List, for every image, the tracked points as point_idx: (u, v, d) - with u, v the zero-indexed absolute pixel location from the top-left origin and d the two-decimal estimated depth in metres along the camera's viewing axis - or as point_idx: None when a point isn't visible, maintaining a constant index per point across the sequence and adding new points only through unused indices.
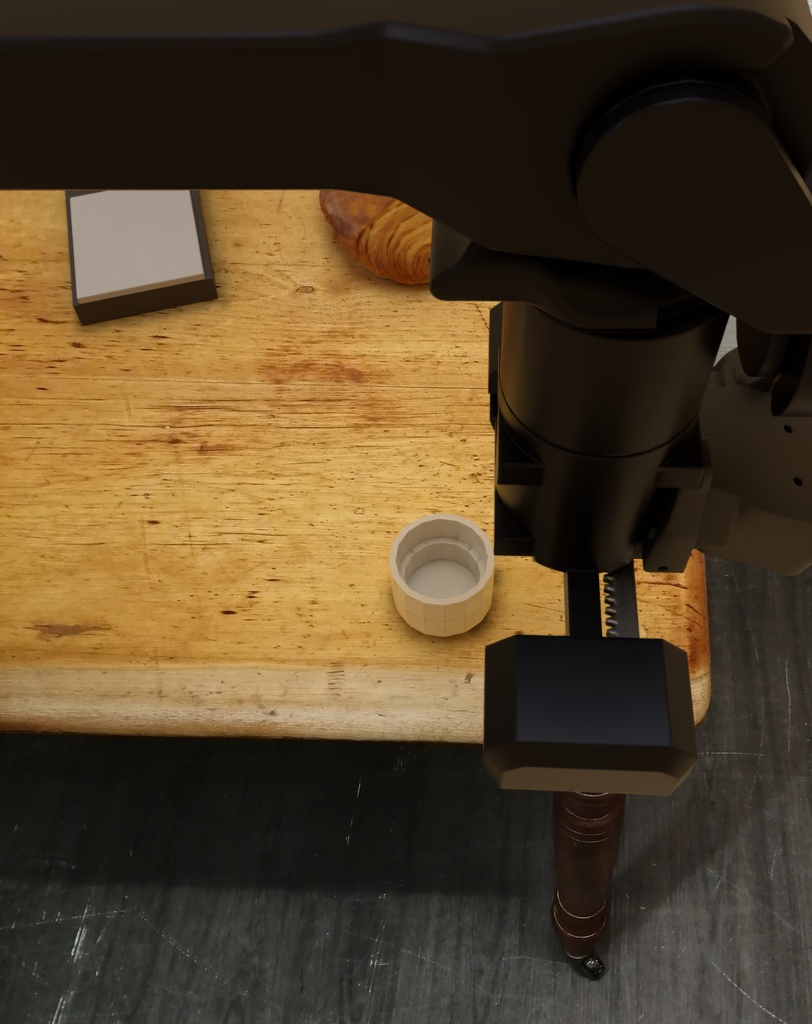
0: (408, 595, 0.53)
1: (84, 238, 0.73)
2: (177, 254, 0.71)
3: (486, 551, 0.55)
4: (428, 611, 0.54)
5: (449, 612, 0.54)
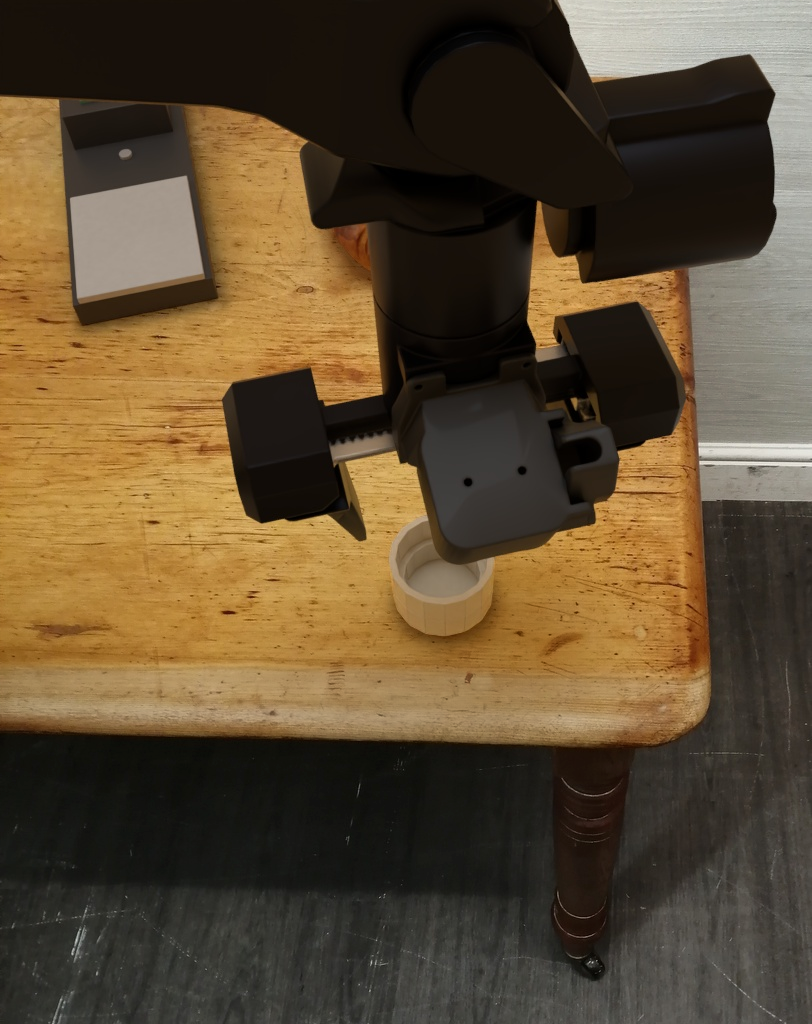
0: (408, 595, 0.53)
1: (84, 238, 0.73)
2: (177, 254, 0.71)
3: None
4: (428, 610, 0.54)
5: (449, 611, 0.54)
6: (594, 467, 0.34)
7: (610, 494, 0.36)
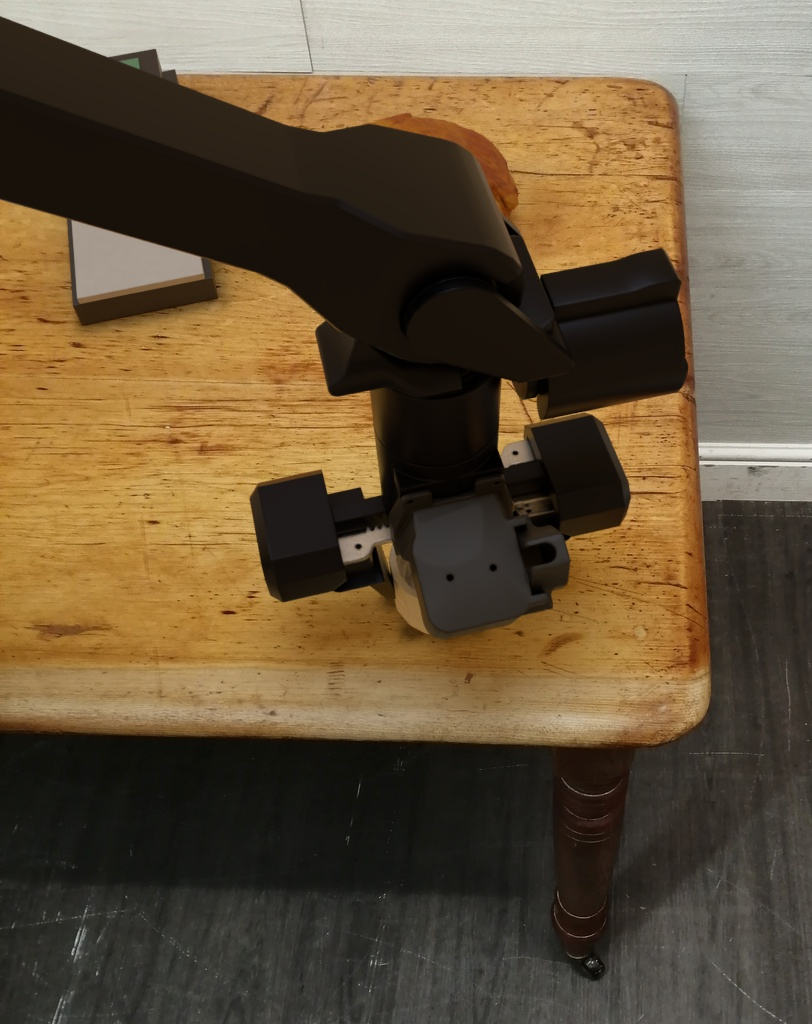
0: (408, 594, 0.53)
1: (84, 238, 0.73)
2: (177, 254, 0.71)
3: None
4: None
5: None
6: (550, 567, 0.43)
7: (564, 585, 0.45)
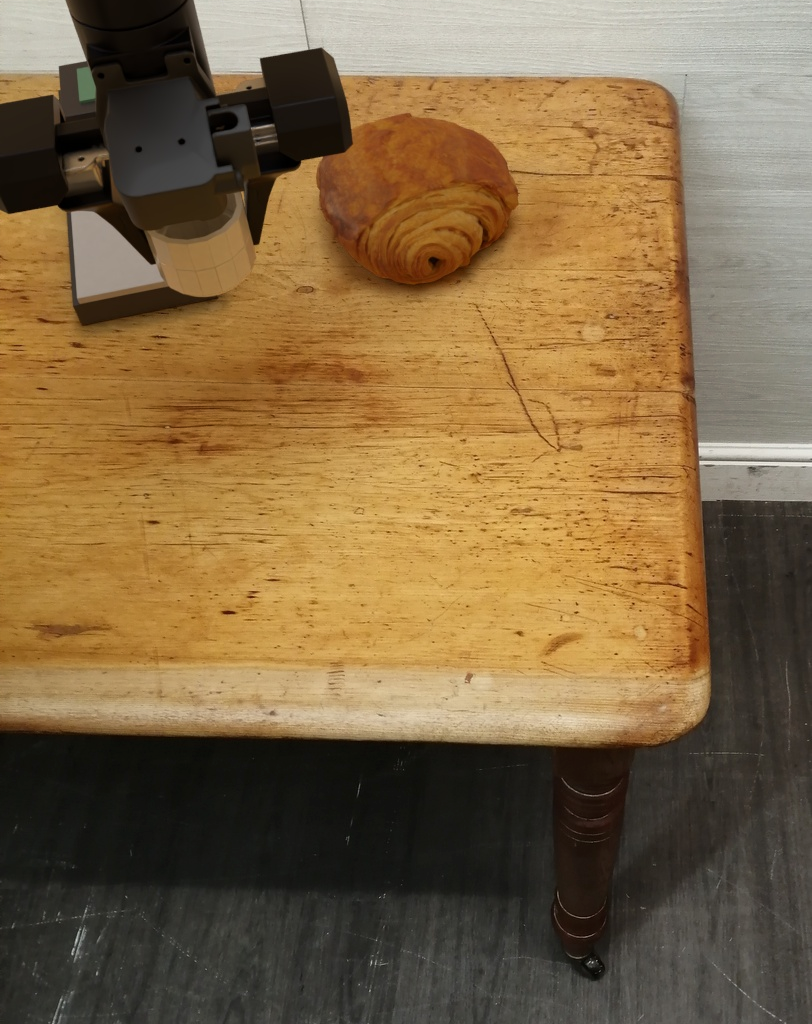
0: (154, 238, 0.55)
1: (84, 238, 0.73)
2: None
3: None
4: (175, 256, 0.55)
5: (194, 256, 0.55)
6: (230, 133, 0.45)
7: (254, 164, 0.46)
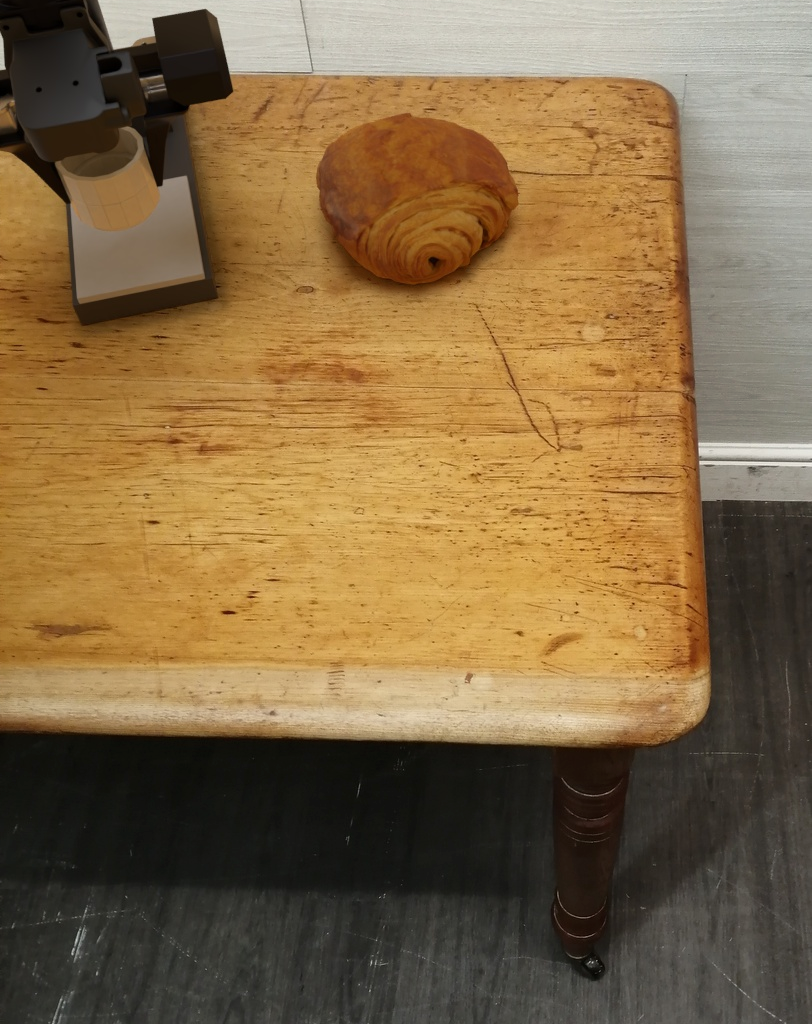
0: (65, 176, 0.63)
1: (84, 238, 0.73)
2: (177, 254, 0.71)
3: (138, 147, 0.64)
4: (84, 192, 0.63)
5: (101, 192, 0.63)
6: (115, 74, 0.53)
7: (138, 102, 0.54)
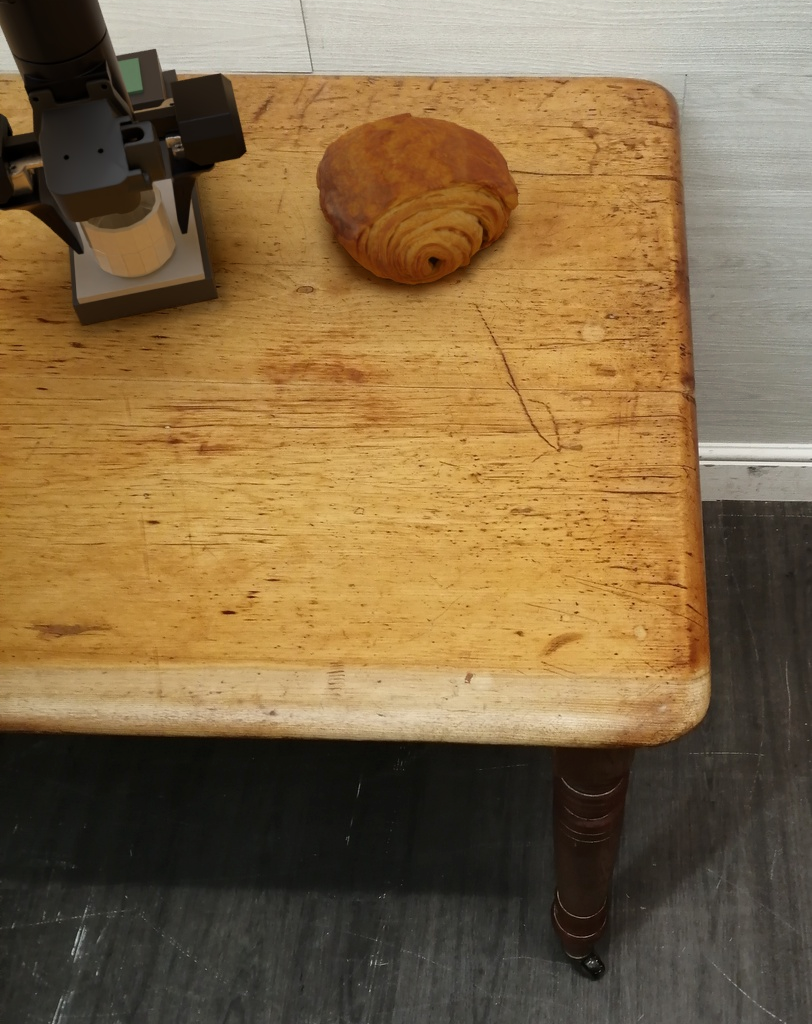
0: (86, 228, 0.67)
1: (84, 238, 0.73)
2: (177, 254, 0.71)
3: (155, 199, 0.68)
4: (104, 243, 0.67)
5: (120, 243, 0.67)
6: (138, 143, 0.57)
7: (159, 168, 0.58)
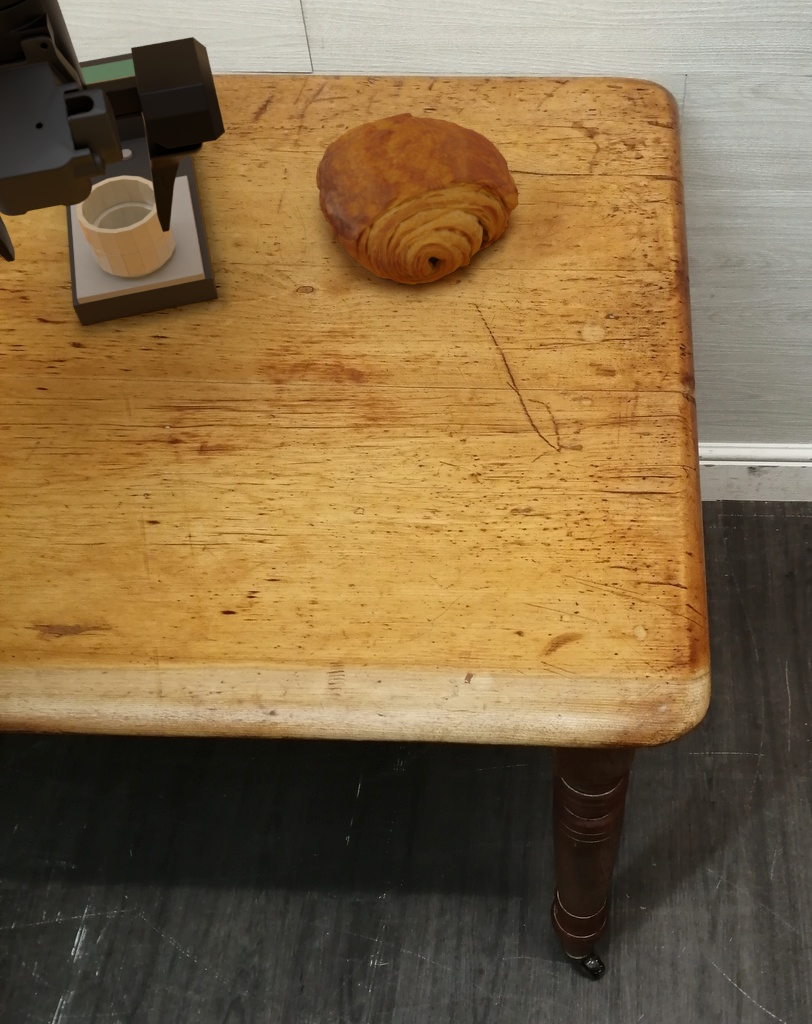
0: (86, 228, 0.67)
1: (84, 238, 0.73)
2: (177, 254, 0.71)
3: None
4: (104, 243, 0.67)
5: (120, 243, 0.67)
6: (85, 116, 0.45)
7: (113, 148, 0.46)
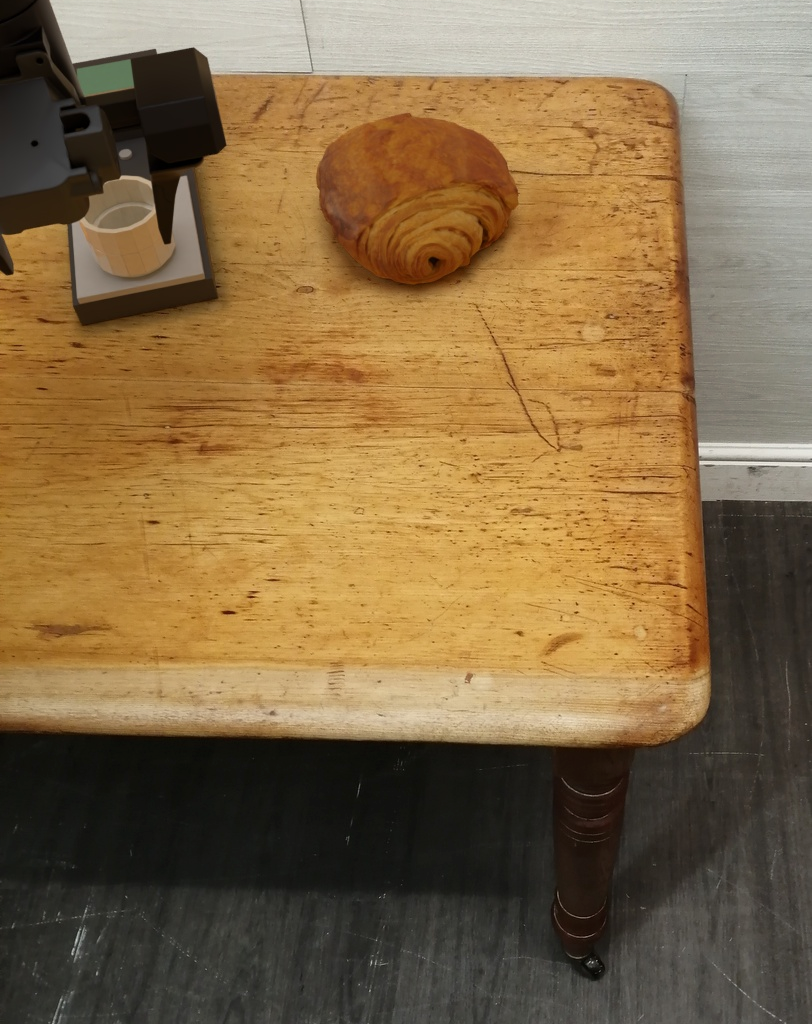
0: (86, 228, 0.67)
1: (84, 238, 0.73)
2: (177, 254, 0.71)
3: None
4: (104, 243, 0.67)
5: (120, 243, 0.67)
6: (81, 134, 0.44)
7: (110, 166, 0.45)
